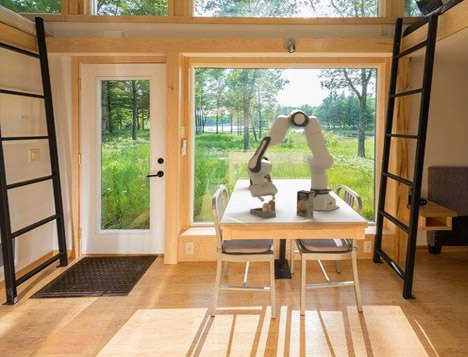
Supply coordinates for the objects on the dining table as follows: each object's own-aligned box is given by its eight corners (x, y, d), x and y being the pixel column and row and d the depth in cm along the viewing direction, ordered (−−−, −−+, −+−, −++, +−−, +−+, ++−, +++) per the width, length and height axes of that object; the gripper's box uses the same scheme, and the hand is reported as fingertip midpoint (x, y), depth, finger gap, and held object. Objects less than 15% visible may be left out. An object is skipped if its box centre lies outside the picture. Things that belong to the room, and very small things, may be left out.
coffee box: (295, 216, 230) (296, 191, 228) (301, 214, 235) (302, 189, 232) (308, 218, 224) (308, 193, 222) (313, 216, 228) (314, 191, 226)
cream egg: (267, 214, 230) (267, 201, 229) (271, 216, 226) (271, 203, 225) (260, 215, 228) (261, 202, 227) (265, 217, 224) (265, 204, 223)
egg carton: (260, 212, 239) (260, 207, 239) (275, 217, 226) (275, 212, 225) (250, 214, 235) (250, 209, 234) (264, 219, 221) (265, 214, 221)
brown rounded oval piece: (272, 211, 244) (272, 199, 242) (276, 212, 239) (276, 200, 238) (266, 212, 241) (266, 199, 240) (270, 213, 237) (271, 201, 236)
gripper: (249, 182, 241) (258, 199, 234) (273, 180, 252) (282, 196, 245) (245, 188, 245) (254, 204, 239) (269, 185, 256) (278, 201, 249)
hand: (268, 200), depth 242 cm, fingers open, 8 cm apart
